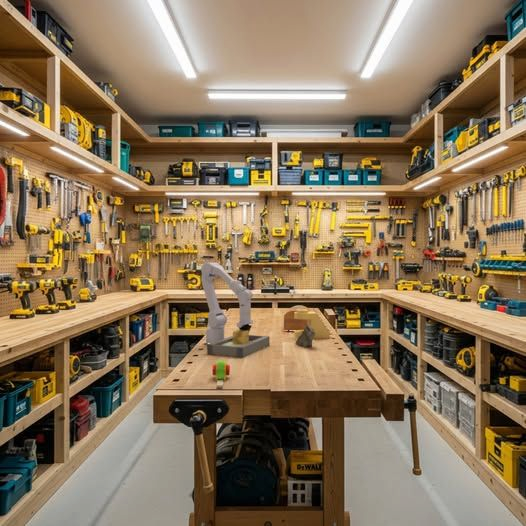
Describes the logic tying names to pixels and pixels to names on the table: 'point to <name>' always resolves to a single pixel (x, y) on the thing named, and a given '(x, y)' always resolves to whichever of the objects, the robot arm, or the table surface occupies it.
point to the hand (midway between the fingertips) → (245, 339)
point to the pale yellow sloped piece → (312, 323)
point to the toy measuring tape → (221, 372)
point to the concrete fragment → (306, 337)
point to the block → (240, 336)
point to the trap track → (237, 346)
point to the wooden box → (293, 323)
